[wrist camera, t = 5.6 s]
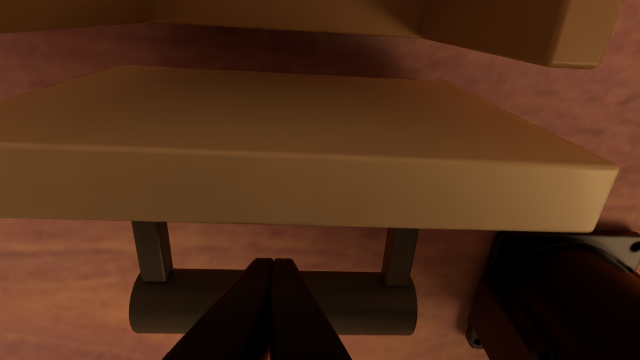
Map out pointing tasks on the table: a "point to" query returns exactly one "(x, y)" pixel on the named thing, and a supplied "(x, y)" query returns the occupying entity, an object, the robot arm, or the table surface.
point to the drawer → (301, 144)
